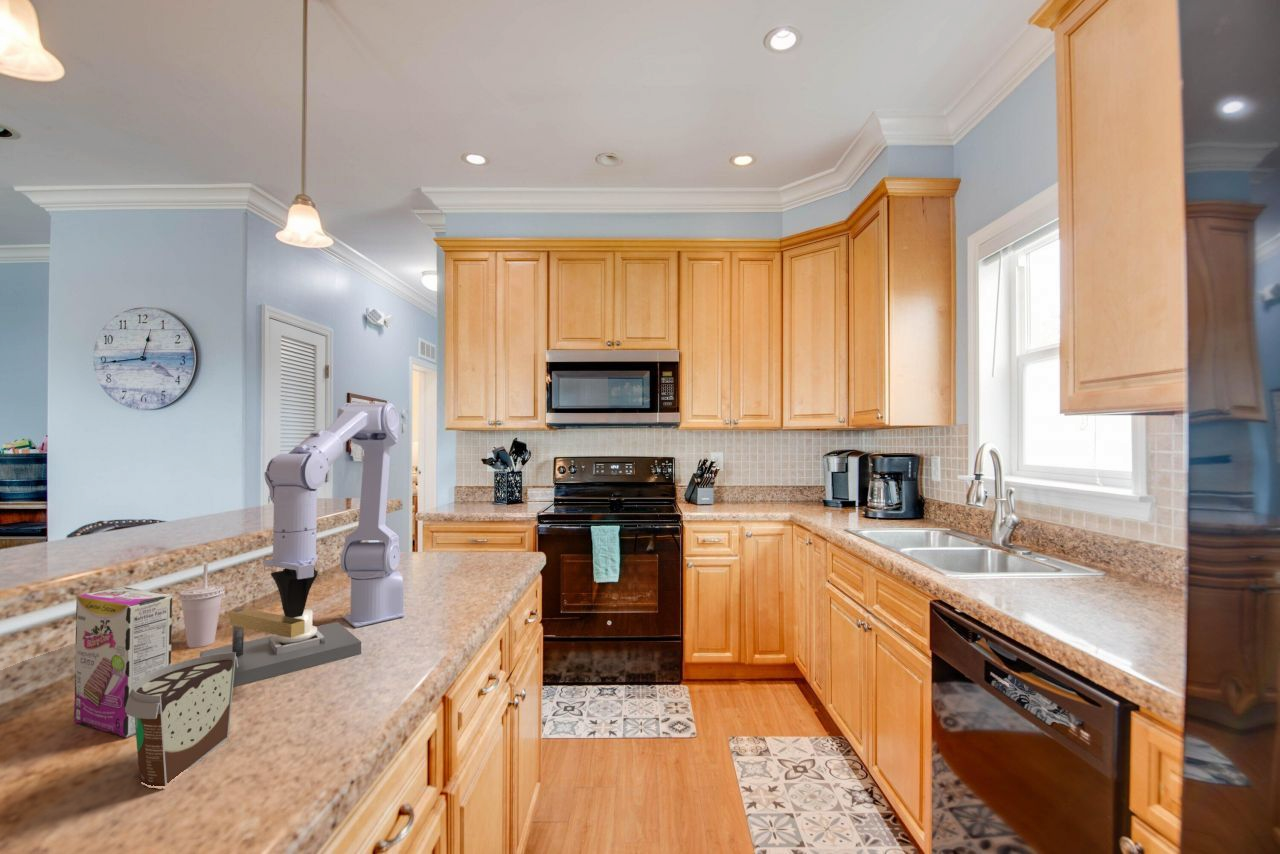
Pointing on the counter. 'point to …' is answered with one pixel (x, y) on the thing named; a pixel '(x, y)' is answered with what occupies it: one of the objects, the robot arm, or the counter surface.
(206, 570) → the smoothie
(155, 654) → the candy bar box
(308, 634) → the plug
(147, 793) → the counter surface
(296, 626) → the tan l-shaped bar
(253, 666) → the socket block
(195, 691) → the food container
